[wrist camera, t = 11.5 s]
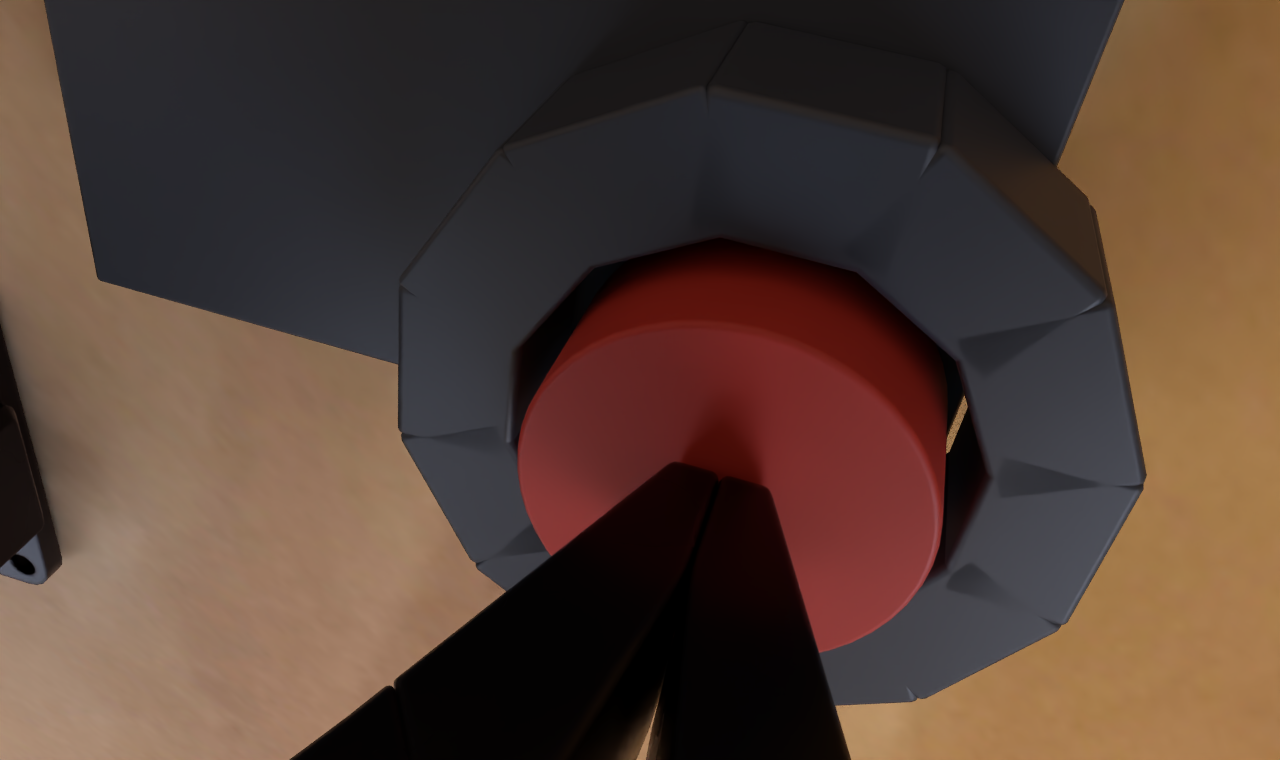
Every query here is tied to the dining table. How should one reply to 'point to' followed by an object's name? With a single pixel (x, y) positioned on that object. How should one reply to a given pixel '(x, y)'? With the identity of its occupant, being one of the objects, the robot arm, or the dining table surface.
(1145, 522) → the dining table surface
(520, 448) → the bell button
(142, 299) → the dining table surface
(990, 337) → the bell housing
